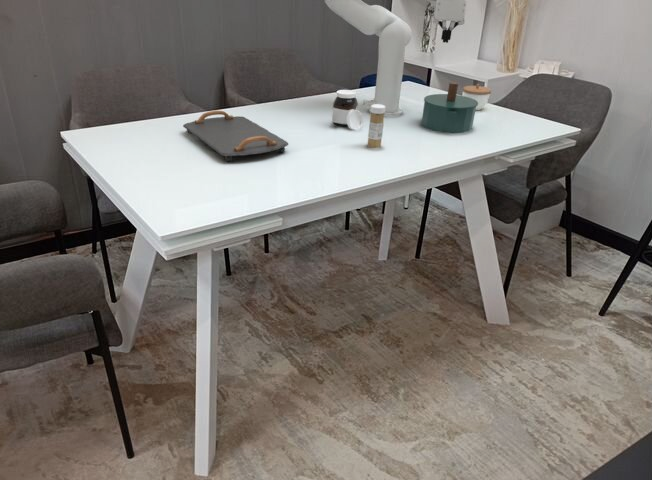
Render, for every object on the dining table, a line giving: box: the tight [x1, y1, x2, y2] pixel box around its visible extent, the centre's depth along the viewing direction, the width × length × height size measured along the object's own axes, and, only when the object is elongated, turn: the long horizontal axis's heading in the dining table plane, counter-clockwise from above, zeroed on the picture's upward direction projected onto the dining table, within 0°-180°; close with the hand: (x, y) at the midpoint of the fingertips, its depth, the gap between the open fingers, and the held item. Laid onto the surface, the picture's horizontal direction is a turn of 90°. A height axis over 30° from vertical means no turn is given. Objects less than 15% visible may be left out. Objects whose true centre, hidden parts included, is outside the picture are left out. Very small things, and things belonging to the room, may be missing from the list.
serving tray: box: [182, 110, 289, 163], centre depth 176 cm, size 39×23×6 cm, turn 31°
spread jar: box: [331, 89, 364, 131], centre depth 193 cm, size 12×11×12 cm
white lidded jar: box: [461, 83, 492, 111], centre depth 219 cm, size 11×11×9 cm
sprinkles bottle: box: [366, 104, 385, 149], centre depth 173 cm, size 5×5×13 cm
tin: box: [420, 101, 477, 134], centre depth 196 cm, size 18×23×9 cm
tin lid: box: [423, 81, 478, 109], centre depth 192 cm, size 19×19×7 cm
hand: (445, 42), depth 193 cm, fingers closed
